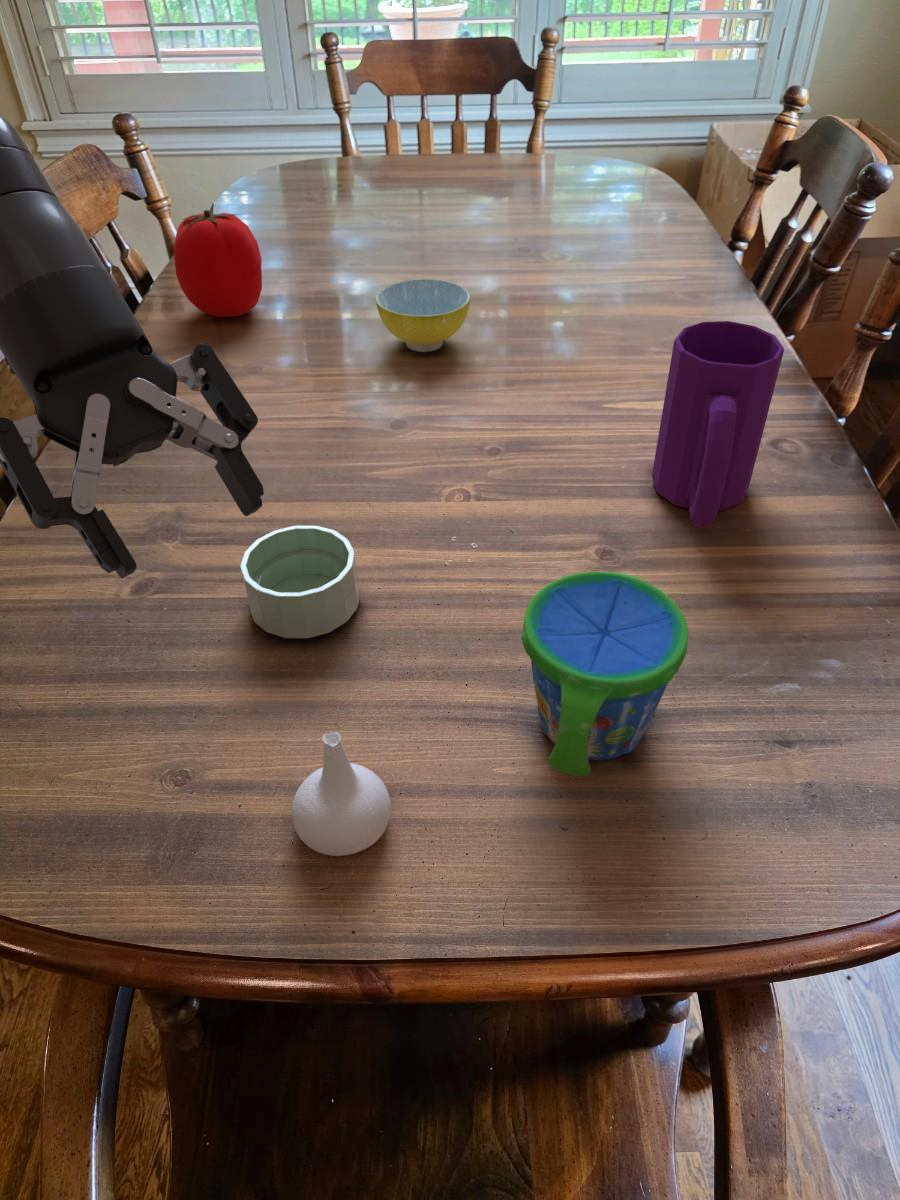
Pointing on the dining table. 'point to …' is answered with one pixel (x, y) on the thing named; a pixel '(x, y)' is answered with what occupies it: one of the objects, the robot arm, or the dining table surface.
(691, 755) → the dining table surface
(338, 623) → the dish
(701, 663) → the dining table surface
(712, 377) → the mug
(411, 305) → the bowl
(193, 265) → the tomato
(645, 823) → the dining table surface
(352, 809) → the garlic bulb
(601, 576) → the snack cup
